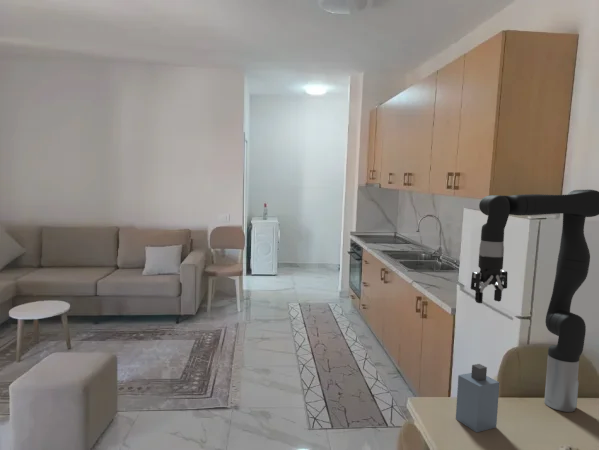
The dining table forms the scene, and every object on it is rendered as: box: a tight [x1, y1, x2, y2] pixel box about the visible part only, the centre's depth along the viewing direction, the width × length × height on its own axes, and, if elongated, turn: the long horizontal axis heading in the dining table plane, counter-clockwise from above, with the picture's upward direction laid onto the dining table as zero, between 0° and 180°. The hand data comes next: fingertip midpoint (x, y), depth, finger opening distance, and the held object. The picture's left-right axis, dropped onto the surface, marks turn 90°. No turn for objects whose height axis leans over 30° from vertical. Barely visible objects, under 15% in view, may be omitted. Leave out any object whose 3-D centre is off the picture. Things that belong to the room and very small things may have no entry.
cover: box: [455, 363, 500, 433], centre depth 133 cm, size 8×8×18 cm
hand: (488, 301), depth 143 cm, fingers open, 8 cm apart
